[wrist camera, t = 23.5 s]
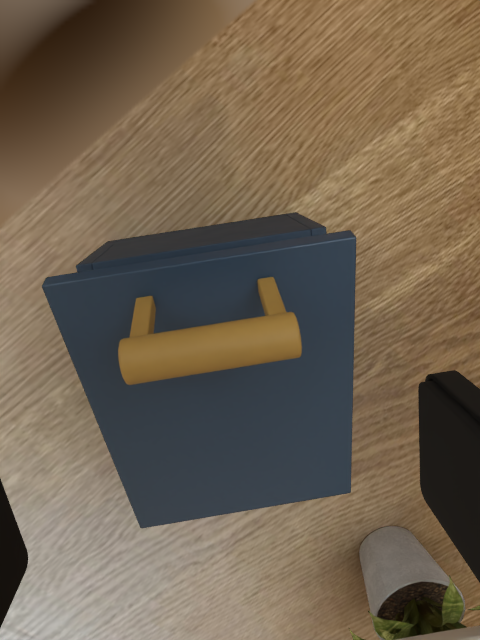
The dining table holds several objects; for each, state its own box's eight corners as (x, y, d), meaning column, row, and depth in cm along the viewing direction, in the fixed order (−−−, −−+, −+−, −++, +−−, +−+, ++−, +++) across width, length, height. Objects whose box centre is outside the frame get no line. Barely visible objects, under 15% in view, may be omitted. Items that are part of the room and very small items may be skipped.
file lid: (46, 276, 19) (2, 357, 14) (350, 229, 19) (403, 293, 14) (141, 516, 28) (133, 613, 23) (347, 482, 28) (379, 570, 23)
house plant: (464, 450, 37) (648, 649, 22) (491, 570, 42) (660, 807, 26) (299, 506, 38) (364, 740, 22) (343, 620, 42) (423, 880, 27)
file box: (107, 241, 30) (75, 265, 23) (296, 212, 30) (326, 226, 23) (155, 443, 35) (141, 517, 28) (317, 416, 35) (346, 482, 28)
